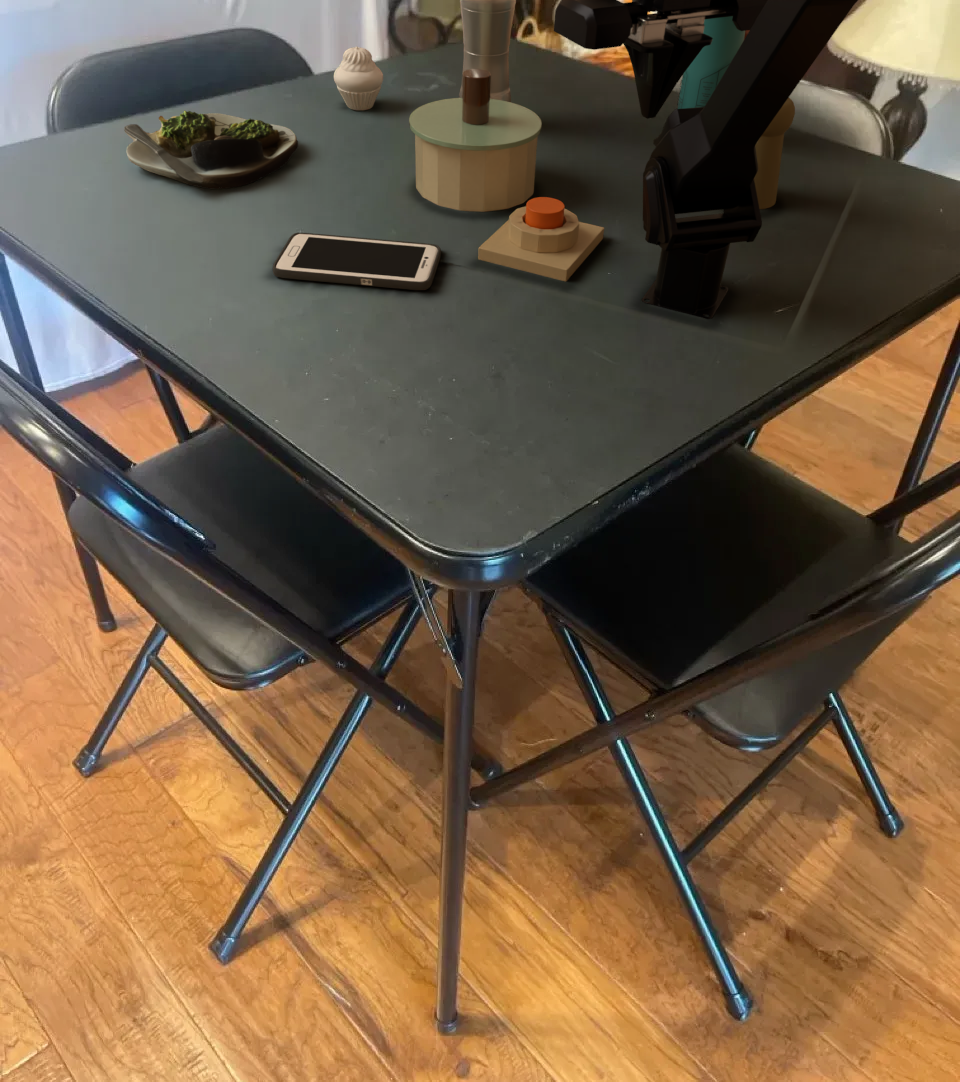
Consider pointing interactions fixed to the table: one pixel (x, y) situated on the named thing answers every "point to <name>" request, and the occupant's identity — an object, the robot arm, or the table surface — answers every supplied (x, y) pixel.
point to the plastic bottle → (488, 41)
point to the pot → (475, 176)
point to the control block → (542, 245)
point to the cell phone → (358, 261)
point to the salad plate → (211, 149)
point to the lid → (475, 119)
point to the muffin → (358, 79)
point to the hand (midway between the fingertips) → (648, 116)
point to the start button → (544, 213)
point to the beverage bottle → (710, 62)
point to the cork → (772, 155)
